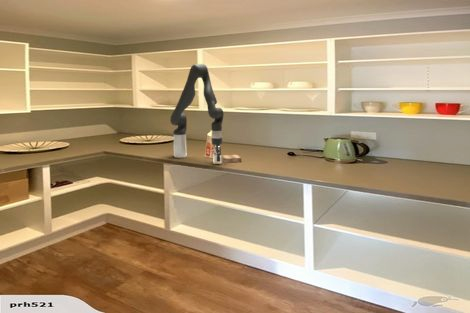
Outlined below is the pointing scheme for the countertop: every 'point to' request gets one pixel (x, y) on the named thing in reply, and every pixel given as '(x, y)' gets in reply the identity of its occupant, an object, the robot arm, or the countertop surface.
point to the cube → (216, 159)
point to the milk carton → (209, 146)
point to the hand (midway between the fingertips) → (217, 160)
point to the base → (230, 158)
